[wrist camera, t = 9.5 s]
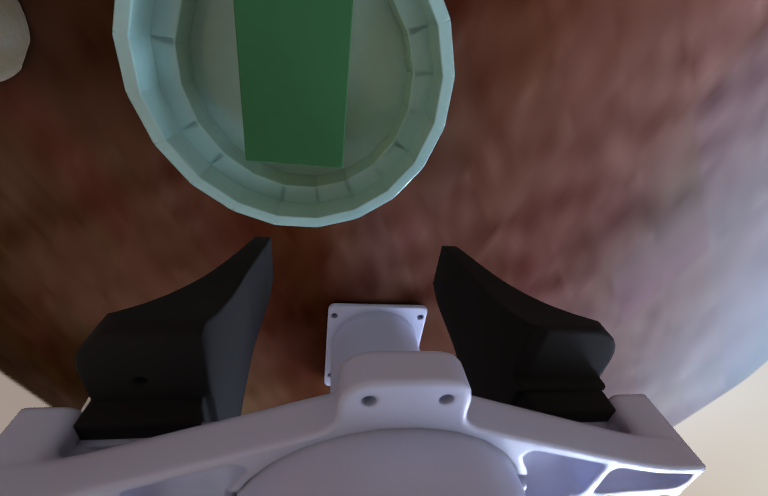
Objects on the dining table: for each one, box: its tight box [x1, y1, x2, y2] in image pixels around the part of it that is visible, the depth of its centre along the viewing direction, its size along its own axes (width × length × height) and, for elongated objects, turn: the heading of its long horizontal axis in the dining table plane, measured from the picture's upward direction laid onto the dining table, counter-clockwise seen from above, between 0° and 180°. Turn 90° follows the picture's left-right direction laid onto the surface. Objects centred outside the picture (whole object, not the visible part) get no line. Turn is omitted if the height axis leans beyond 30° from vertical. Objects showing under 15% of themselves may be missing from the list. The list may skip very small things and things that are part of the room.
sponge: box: [233, 0, 353, 168], centre depth 17 cm, size 7×4×4 cm, turn 173°
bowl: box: [112, 0, 455, 227], centre depth 17 cm, size 14×14×4 cm
